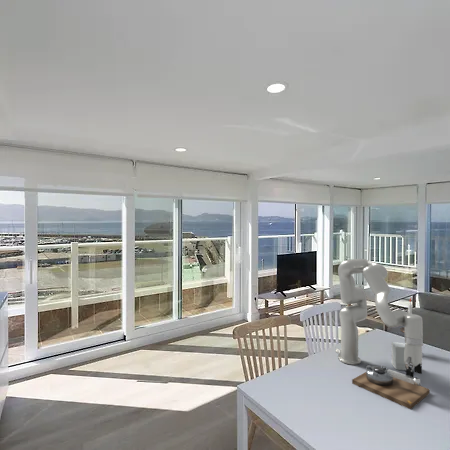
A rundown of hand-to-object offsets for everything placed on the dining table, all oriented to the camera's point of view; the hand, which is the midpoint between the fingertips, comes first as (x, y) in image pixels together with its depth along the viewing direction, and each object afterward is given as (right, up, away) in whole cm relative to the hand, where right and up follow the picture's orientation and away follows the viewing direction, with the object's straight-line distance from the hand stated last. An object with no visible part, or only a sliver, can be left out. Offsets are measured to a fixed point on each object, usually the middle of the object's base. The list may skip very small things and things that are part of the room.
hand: (414, 375), depth 148 cm
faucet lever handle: (-10, -4, +1) cm, 11 cm away
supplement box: (+7, -7, +23) cm, 25 cm away
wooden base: (-11, -7, +1) cm, 13 cm away
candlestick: (+24, -7, +42) cm, 49 cm away
